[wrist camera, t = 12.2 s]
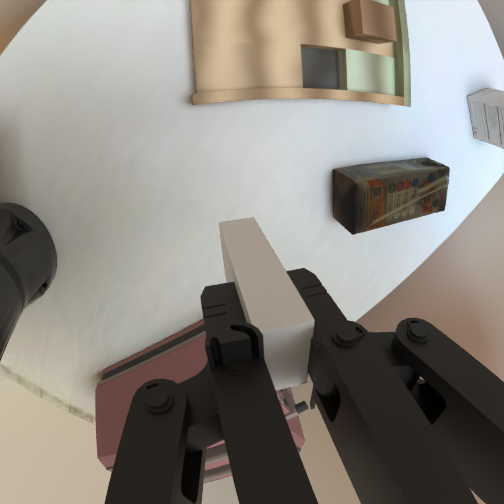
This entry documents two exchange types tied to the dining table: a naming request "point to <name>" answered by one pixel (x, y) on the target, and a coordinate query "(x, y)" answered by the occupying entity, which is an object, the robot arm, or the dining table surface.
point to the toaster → (177, 369)
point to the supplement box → (488, 116)
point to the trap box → (294, 53)
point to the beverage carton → (388, 193)
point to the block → (369, 21)
